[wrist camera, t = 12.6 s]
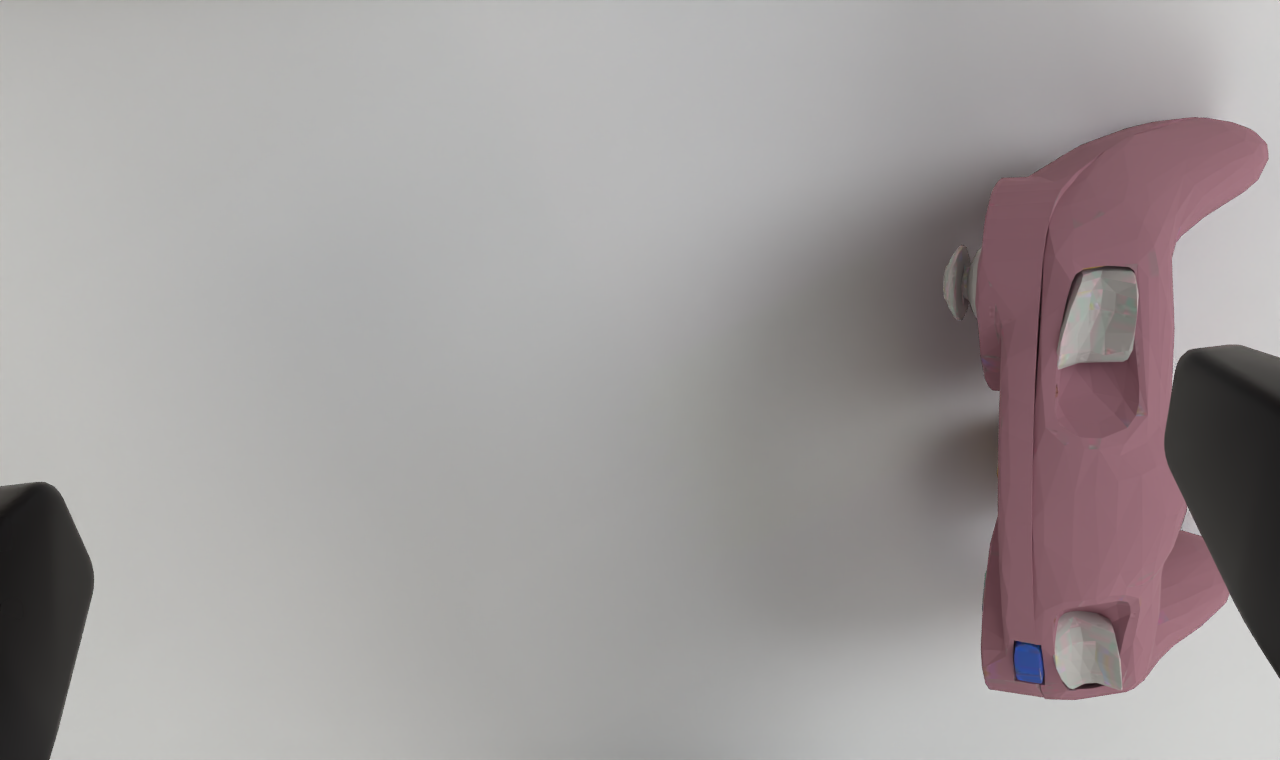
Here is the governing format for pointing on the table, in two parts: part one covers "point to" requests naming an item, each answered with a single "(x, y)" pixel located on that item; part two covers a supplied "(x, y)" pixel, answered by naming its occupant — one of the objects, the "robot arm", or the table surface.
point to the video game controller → (1092, 405)
